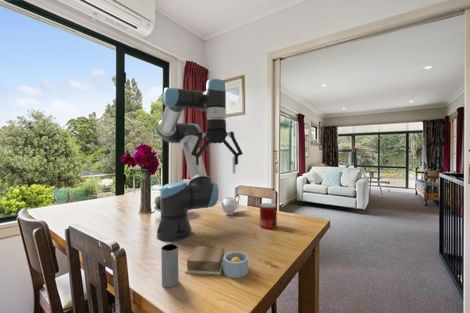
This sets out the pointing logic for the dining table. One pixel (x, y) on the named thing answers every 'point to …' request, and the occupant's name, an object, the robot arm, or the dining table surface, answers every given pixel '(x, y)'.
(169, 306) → the dining table surface
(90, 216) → the dining table surface
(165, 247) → the grey cylinder
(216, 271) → the mat
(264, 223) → the canned food
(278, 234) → the dining table surface
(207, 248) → the cover
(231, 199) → the teapot
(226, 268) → the bowl
